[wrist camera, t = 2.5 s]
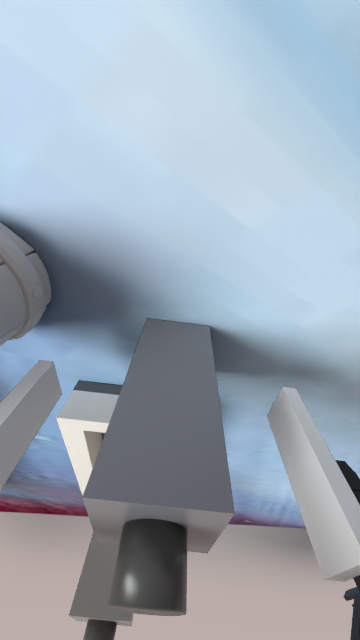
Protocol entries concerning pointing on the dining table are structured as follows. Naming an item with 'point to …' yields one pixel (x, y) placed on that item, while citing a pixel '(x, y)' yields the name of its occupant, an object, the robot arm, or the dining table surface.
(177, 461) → the plug
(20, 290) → the mug
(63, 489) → the dining table surface
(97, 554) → the twin plug
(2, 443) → the robot arm
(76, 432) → the strip
